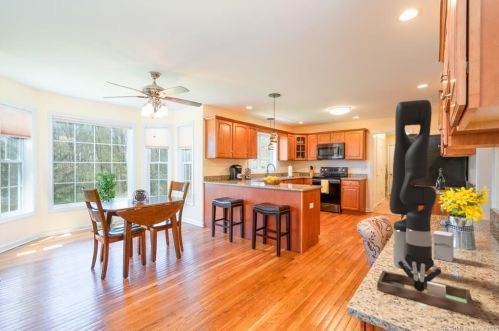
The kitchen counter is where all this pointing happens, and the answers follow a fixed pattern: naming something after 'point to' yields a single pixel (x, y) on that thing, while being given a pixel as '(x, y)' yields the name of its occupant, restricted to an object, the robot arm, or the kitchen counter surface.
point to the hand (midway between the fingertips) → (419, 290)
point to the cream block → (436, 289)
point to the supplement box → (443, 245)
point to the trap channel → (405, 288)
